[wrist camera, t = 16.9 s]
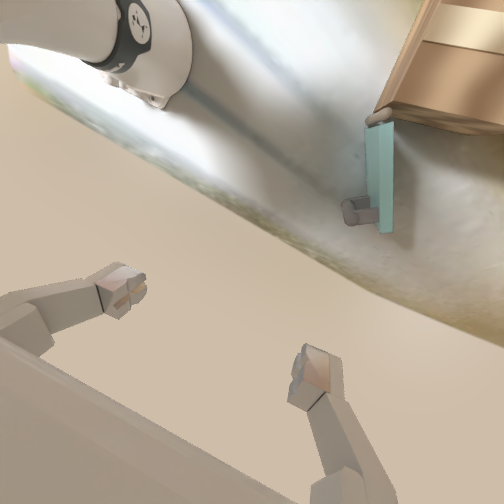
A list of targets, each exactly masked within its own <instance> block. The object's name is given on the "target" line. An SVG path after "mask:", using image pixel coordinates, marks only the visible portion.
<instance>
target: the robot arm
mask: <svg viewBox="0 0 504 504" xmlns="http://www.w3.org/2000/svg"><path fill="white" fill-rule="evenodd" d="M0 44H23V45H29V46H35V47H39V48H43V49H47V50H51V51H55V52H58V53H62V54H65V55H69V56H72V57H76V58H79V59H80V60H82V61H83V62H84V63H86V64H88V65H90V66H92V67H94V68H96V69H98V70H99V72H100V74H101V75H102V77H103V78H104V79H105V82H106V83H107V84H109V85H111V86H114V87H118V88H119V87H120V88H122V89H124V90H126V91H128V92H129V93H131V94H133V95H135V96H137V97H139V98H140V99H142V100H144V101H146V102H148V103H149V104H151V105H153V106H155V107H157V108H160V109H162V108H164V107H165V105H166V104H167V102H168V100H169V98H170V97H171V96H172V95H173V94H175V93H176V92H178V91H179V90H180V89H181V88H182V86H183V85H184V83H185V82H186V80H187V78H188V75H189V72H190V68H191V63H192V38H191V32H190V28H189V25H188V22H187V19H186V16H185V14H184V12H183V10H182V8H181V7H180V5H179V4H178V2H177V1H176V0H0ZM153 98H154V99H153ZM145 280H146V275H145V274H144V273H142V272H140V271H138V270H135V269H133V268H131V267H129V266H127V265H124V264H122V263H120V262H114V263H112V264H110V265H109V266H107V267H105V268H104V269H102V270H100V271H98V272H96V273H94V274H93V275H91V276H89V277H87V278H86V279H82V278H81V279H75V280H70V281H65V282H60V283H55V284H49V285H44V286H39V287H34V288H29V289H24V290H18V291H14V292H9V293H8V294H5V295H3V296H1V297H0V504H297V503H295V502H293V501H292V500H290V499H288V498H286V497H285V496H283V495H281V494H279V493H278V492H276V491H274V490H272V489H270V488H269V487H267V486H265V485H263V484H262V483H260V482H258V481H256V480H255V479H253V478H251V477H249V476H247V475H246V474H244V473H242V472H240V471H239V470H237V469H235V468H233V467H232V466H230V465H228V464H226V463H225V462H223V461H221V460H219V459H217V458H216V457H214V456H212V455H210V454H209V453H207V452H205V451H203V450H202V449H200V448H198V447H196V446H194V445H193V444H191V443H189V442H187V441H186V440H184V439H182V438H180V437H179V436H177V435H175V434H173V433H171V432H169V431H168V430H166V429H164V428H163V427H161V426H159V425H157V424H156V423H154V422H152V421H150V420H148V419H147V418H145V417H143V416H141V415H140V414H138V413H136V412H134V411H132V410H131V409H129V408H127V407H125V406H124V405H122V404H120V403H118V402H117V401H115V400H113V399H111V398H110V397H108V396H106V395H104V394H102V393H101V392H99V391H97V390H95V389H94V388H92V387H90V386H88V385H87V384H85V383H83V382H81V381H79V380H78V379H76V378H74V377H72V376H71V375H69V374H67V373H65V372H63V371H62V370H60V369H58V368H56V367H55V366H53V365H51V364H49V363H47V362H46V361H44V360H42V359H41V358H39V357H40V356H41V355H42V354H43V353H45V352H46V351H47V350H49V349H50V348H51V347H52V346H54V343H55V341H54V340H53V338H52V336H51V334H53V333H56V332H58V331H61V330H63V329H66V328H68V327H71V326H74V325H76V324H79V323H81V322H84V321H86V320H89V319H92V318H94V317H97V316H99V315H102V314H103V313H105V314H107V315H109V316H112V317H114V318H116V319H118V320H119V319H120V318H121V317H122V316H124V315H125V314H126V313H127V312H128V311H129V310H130V309H131V305H134V304H137V303H139V302H140V301H141V300H142V299H143V298H144V296H145V295H146V291H147V286H146V284H145V282H144V281H145ZM291 375H292V377H293V381H292V382H291V384H290V386H289V393H288V400H287V402H289V403H291V404H292V405H294V406H296V407H298V408H300V409H302V410H304V411H306V412H307V416H308V419H309V422H310V426H311V429H312V432H313V436H314V439H315V442H316V445H317V449H318V452H319V455H320V458H321V462H322V465H323V468H324V472H325V475H326V477H324V478H322V479H321V480H319V481H317V482H315V483H314V484H312V485H311V494H310V504H398V501H397V496H396V491H395V489H394V487H393V485H392V483H391V481H390V479H389V477H388V476H387V474H386V472H385V470H384V468H383V466H382V464H381V463H380V461H379V459H378V457H377V455H376V453H375V451H374V449H373V447H372V446H371V444H370V442H369V440H368V438H367V436H366V434H365V433H364V431H363V429H362V427H361V425H360V423H359V421H358V419H357V418H356V416H355V414H354V412H353V410H352V408H351V406H350V404H349V403H348V402H346V401H345V398H344V384H343V369H342V360H341V358H339V357H337V356H334V355H332V354H330V353H328V352H326V351H323V350H321V349H318V348H316V347H314V346H311V345H309V344H307V343H305V344H304V345H303V347H302V350H301V353H298V355H297V356H296V358H295V361H294V364H293V368H292V374H291Z"/></svg>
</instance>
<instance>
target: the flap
mask: <svg viewBox="0 0 504 504" xmlns="http://www.w3.org/2000/svg"><path fill="white" fill-rule="evenodd" d="M391 115H392V109H391V108H390V107H386V108H384V109H382V110H380V111H379V112H377V113H375V114H373V115H372V116H370V117H368V118H367V119H366V121H365V123H366V125H368V126H369V125H372V124H375V123H378V122H380V121H383V120H386V119H388V118H389V117H390V116H391ZM393 150H394V121H392V122H389V123H385V124H382V125H379V126H375V127H372V128H368V129H365V151H366V175H367V196H362V197H357V198H351V199H345V200H344V201H343V202H342V204H341V206H342V211H343V216H344V221H345V224H346V225H348V226H355V225H362V224H370V223H375V225H376V227H377V228H378V230H379V232H380V234H383V233H392V232H393Z"/></svg>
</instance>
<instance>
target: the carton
mask: <svg viewBox="0 0 504 504" xmlns="http://www.w3.org/2000/svg"><path fill="white" fill-rule="evenodd" d="M386 107H390V108H391V109H392V115H391V116H390V117H394V118H398V119H402V120H407V121H411V122H415V123H419V124H423V125H428V126H432V127H436V128H440V129H445V130H449V131H453V132H457V133H461V134H466V135H490V134H504V0H424V2H423V4H422V6H421V8H420V11H419V13H418V15H417V17H416V19H415V22H414V24H413V26H412V28H411V30H410V33H409V35H408V37H407V39H406V41H405V44H404V46H403V48H402V50H401V52H400V55H399V57H398V59H397V61H396V63H395V66H394V68H393V70H392V72H391V74H390V77H389V79H388V81H387V83H386V85H385V88H384V90H383V92H382V94H381V96H380V99H379V101H378V103H377V105H376V107H375V110H374V112H373V113H377V112H379V111H380V110H382V109H384V108H386Z"/></svg>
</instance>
